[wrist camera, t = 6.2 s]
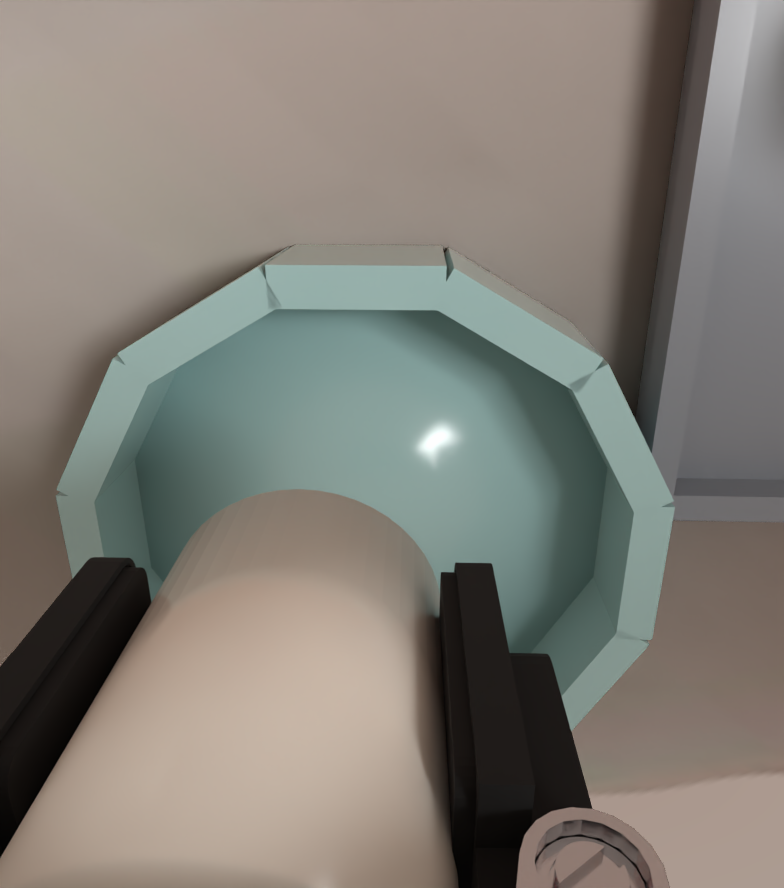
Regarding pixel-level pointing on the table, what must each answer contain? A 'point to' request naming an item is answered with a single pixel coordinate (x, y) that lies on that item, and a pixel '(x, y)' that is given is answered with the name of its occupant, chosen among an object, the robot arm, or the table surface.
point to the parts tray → (722, 276)
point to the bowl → (392, 440)
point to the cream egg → (262, 719)
